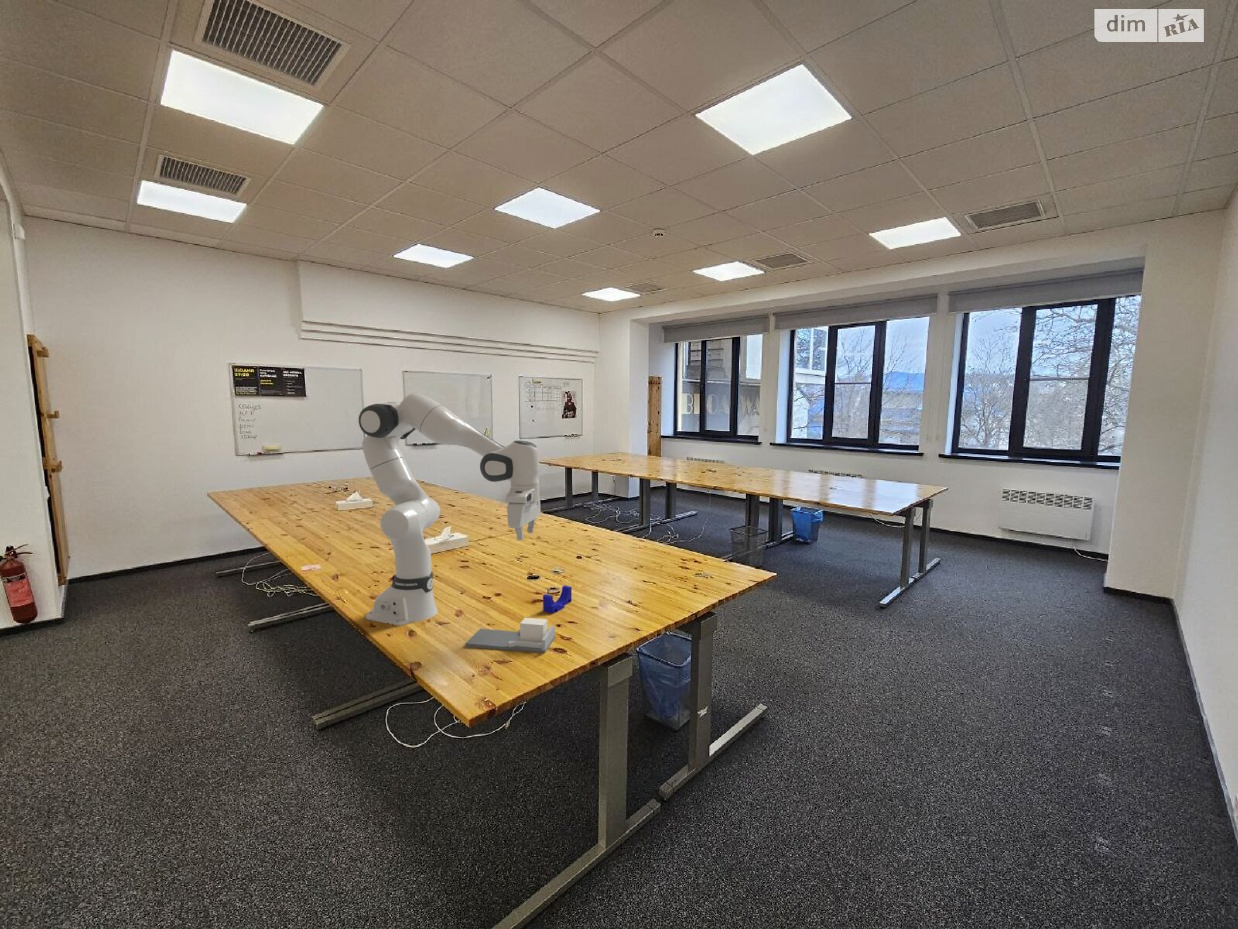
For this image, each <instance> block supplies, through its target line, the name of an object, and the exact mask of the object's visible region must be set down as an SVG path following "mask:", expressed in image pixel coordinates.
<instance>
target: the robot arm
mask: <svg viewBox="0 0 1238 929" xmlns="http://www.w3.org/2000/svg"><path fill="white" fill-rule="evenodd" d="M358 425H359V428H360V430H361V431H362V433H364V434H365V435H366V436H365V437H364V438H363V439H362V441H361V447H362V451H363V455H364V458H365V461H366V465H367V467H368V469H369V470H370V473H371V476H372V477H373V480H374V481H375V484H376V486H377V488H378V490H379V492H380V493H381V494H382V495H384V496H387V497H388V498H389V499H390V500H391V501H392V503H393V504H394V505H393V506H392V507H391V508H389V509H388V510H387V511H385V512H384V513H383V514H382V516H381V518H380V521H379V523H380V524H379V525H380V528H381V531H382V533H383V534H384V535H385V536H386V537H387V538H388V539H389V540H390V542H391V545H392V548H393V554H394V559H395V560H394V562H395V574H394V575H392V576H391V577H390V578H388V583H390V582H391V585H390V586H389V587H387V588H386V589H385V590H384V591H382V592H381V593H380V594H378V595H377V597H376V598H375V599H374V603H373V608H372V609H371V610H369V611H368V613H367V614H365V615H366V616H365V620H369V621H371V622H372V621H373V622H378V623H384V624H387V623H389V625H392V624H393V626H398V627H399V626H404V625H408V624H411V623H417V622H418V623H419V622H423V621H426V620H428V619H431V618H433V617H435V616H436V615H437V614H438V612H439V610H438V607H437V604H436V601H435V595H434V591H433V590H434V575H433V574H434V573H433V571H432V552H431V548H430V546H428V545H427V544H426V542H425V538H424V530H427V529H429V528H431V527H432V526H433V525H434V524H435V523H436V522H437V521H438V519H439V517H440V515H441V508H440V507H441V506H440V505H439V503H438V502H437V501H436V500H435V499H433V498H431V497H429V495H428V494H427V493H426V492H425V491H424V490H423V489H422V487H421V486H420V484H418V482H417V480H416V479H415V477H414V475H413V473H412V471H411V469H410V467H409V465H408V463H407V460H406V459H405V457H404V454H403V453H402V451H401V448H400V444H399V443H400V440H405V439H407V437H409V436H410V435H411V434H412V433H413V432H415V431H418V432H419V433H420V434H421V435H423V436H424V437H426V438H427V439H429V440H431V441H434V442H435V443H437V444H440V445H448V446H449V445H450V446H459V447H463V448H468V449H470V450H472V451H473V452H475V453H477V454H479V455H480V456H481V457H482V458H481V459H480V463H479V470H480V473H481V476H483V478H484V479H485V480H486V481H488V482H491V483H492V482H493V483H499V482H503V481H510V488H509V491H508V493H506V495H505V503H507V505H506V509H507V510H506V513H507V515H506V516H507V525H508V527H509V528H510V529H514V532H515V534H516V540H517V541H523V540H524V538H525V534H524V532H523V530H524V526H525V525H527V524H528V525H527V527H526V530H527V533H528V534H532V533H534V532H535V524H536V519H537V518H538V517H540V515H541V511H542V510H541V498H540V480H539V472H540V456H539V455H540V454H539V450H538V446H537V445H536V444H535V443H533V442H531V441H526V440H514V441H512V442H511V443H510V444H508V445H506V446H503V445H501V444H500V443H498V442H496V441H495V440H493V439H492V438H490V437H489V436H487V435H485V434H483V433H482V432H480V431H479V430H477V429H476V428H474V427H473V426H471V425H470V424H468V423H467V422H466V421H464V420H463V419H462V418H460V417H459V416H457V414H455V413H454V412H453V411H451V410H450V409H448V408H447V407H445V406H444V405H442V404H441V403H439V402H438V401H436V400H434V399H433V398H431V397H429V396H427V395H425V394H422V393H420V392H412V393H409V394H408V395H406V396H405V397H404V399H403V400H402V401H401V402H395V401H389V402H384V403H383V402H382V403H374V404H370V405H367V406H365V407H364V408H362V410H361V411H360V413H359V415H358ZM425 619H426V620H425ZM422 620H423V621H422Z"/></svg>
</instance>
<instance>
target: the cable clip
mask: <svg viewBox="0 0 1238 929" xmlns="http://www.w3.org/2000/svg"><path fill="white" fill-rule="evenodd" d="M572 592H573V591H572V586H570V585H562V587H561V594H560V595H559V597H558V598H557V600H556V601H554V599H553V598H554V597H553V595H551V594H548V593H547V594H546V593H545V594H543V595H542V611H543V612H546V613H550V614H551V615H552V614H553V615H554V614H555V612H556V613H558V612H559V611H561V610H563V609H564V608H565V606H566V605H568V604H569V603H572V598H573V596H572Z"/></svg>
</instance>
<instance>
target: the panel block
mask: <svg viewBox="0 0 1238 929" xmlns="http://www.w3.org/2000/svg"><path fill="white" fill-rule="evenodd" d="M548 623H549V622H548V619H547V618H546V619H545V618H533V617H523V620H521V621H520V622H519V629H520V641H528V642H540V643H542V639H543V637H544V636H545V634H546V633H547V632H548V630H549V628H548V626H549V625H548Z"/></svg>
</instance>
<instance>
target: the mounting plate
mask: <svg viewBox="0 0 1238 929" xmlns="http://www.w3.org/2000/svg"><path fill="white" fill-rule="evenodd" d="M555 638H556V625H551V626H550V627H549V628H548V632H547V633H546V634H545V636H544V637H543V639H542V643H540V642H528V641H520V628H519V629H518V631H511V630H503V629H501V630H500V629H489V628H479V629H478V630H477V631H476V632H475V633H474V634H473V635H472V636H471V637H470V638H469V639H468V640H467V641H466V642H465V644H464V645H465V647H466V648H475V649H489V650H499V651H500V650H502V651H513V652H527V653H529V652H531V653H540V654H541V653H542V654H545V653H546V652H547V651H548V649H549V648H550V646H551V644H552V643H553V642H554V640H555Z"/></svg>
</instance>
